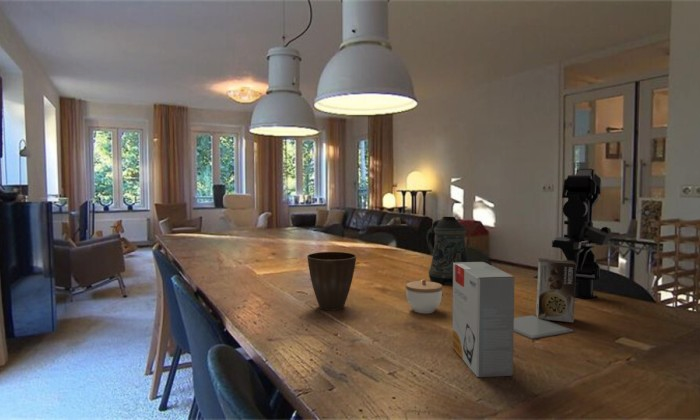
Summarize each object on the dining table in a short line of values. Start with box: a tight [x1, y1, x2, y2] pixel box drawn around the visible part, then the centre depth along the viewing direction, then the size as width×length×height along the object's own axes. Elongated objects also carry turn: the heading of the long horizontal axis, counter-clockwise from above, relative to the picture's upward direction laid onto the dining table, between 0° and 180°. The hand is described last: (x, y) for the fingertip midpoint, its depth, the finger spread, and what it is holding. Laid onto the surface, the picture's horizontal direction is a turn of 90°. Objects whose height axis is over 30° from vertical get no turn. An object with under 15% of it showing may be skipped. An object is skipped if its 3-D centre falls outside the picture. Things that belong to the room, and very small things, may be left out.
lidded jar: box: [405, 278, 443, 314], centre depth 129 cm, size 11×11×9 cm
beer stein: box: [426, 216, 469, 286], centre depth 170 cm, size 16×19×25 cm
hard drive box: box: [451, 261, 515, 378], centre depth 91 cm, size 16×8×20 cm, turn 5°
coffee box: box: [535, 257, 576, 323], centre depth 121 cm, size 9×6×16 cm
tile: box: [514, 314, 575, 340], centre depth 114 cm, size 14×14×1 cm
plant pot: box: [306, 251, 357, 311], centre depth 133 cm, size 15×15×16 cm
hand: (576, 270), depth 129 cm, fingers open, 3 cm apart
